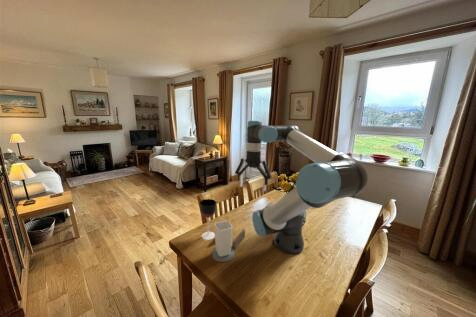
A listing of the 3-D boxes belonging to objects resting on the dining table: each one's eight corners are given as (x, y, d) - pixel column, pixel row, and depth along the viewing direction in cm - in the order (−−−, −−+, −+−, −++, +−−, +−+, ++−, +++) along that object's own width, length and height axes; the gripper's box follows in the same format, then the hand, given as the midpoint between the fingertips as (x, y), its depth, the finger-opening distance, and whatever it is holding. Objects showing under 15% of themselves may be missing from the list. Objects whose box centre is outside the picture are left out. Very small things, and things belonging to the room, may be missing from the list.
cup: (218, 259, 87) (218, 231, 84) (213, 249, 94) (213, 222, 91) (233, 255, 90) (233, 227, 87) (227, 246, 97) (228, 219, 93)
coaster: (238, 250, 95) (238, 249, 94) (227, 265, 85) (227, 264, 85) (219, 243, 99) (219, 242, 99) (207, 257, 90) (207, 256, 89)
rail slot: (244, 236, 105) (245, 229, 104) (235, 250, 95) (235, 242, 94) (225, 230, 110) (226, 224, 109) (214, 242, 100) (214, 235, 99)
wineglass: (213, 241, 101) (213, 206, 97) (198, 238, 103) (197, 204, 99) (218, 232, 109) (218, 200, 105) (203, 230, 111) (203, 198, 106)
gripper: (278, 151, 99) (276, 189, 103) (235, 147, 108) (234, 182, 113) (275, 153, 92) (272, 194, 96) (229, 149, 102) (229, 186, 106)
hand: (252, 188), depth 105 cm, fingers open, 13 cm apart
